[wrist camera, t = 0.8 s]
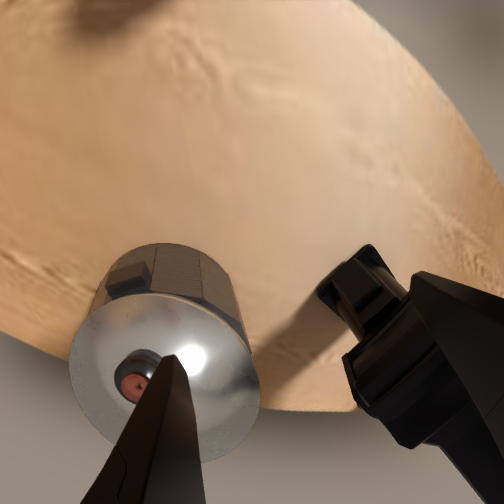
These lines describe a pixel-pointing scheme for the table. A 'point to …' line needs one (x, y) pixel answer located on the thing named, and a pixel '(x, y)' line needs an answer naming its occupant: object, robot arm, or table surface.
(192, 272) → the pot
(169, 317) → the lid
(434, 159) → the table surface
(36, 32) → the table surface
